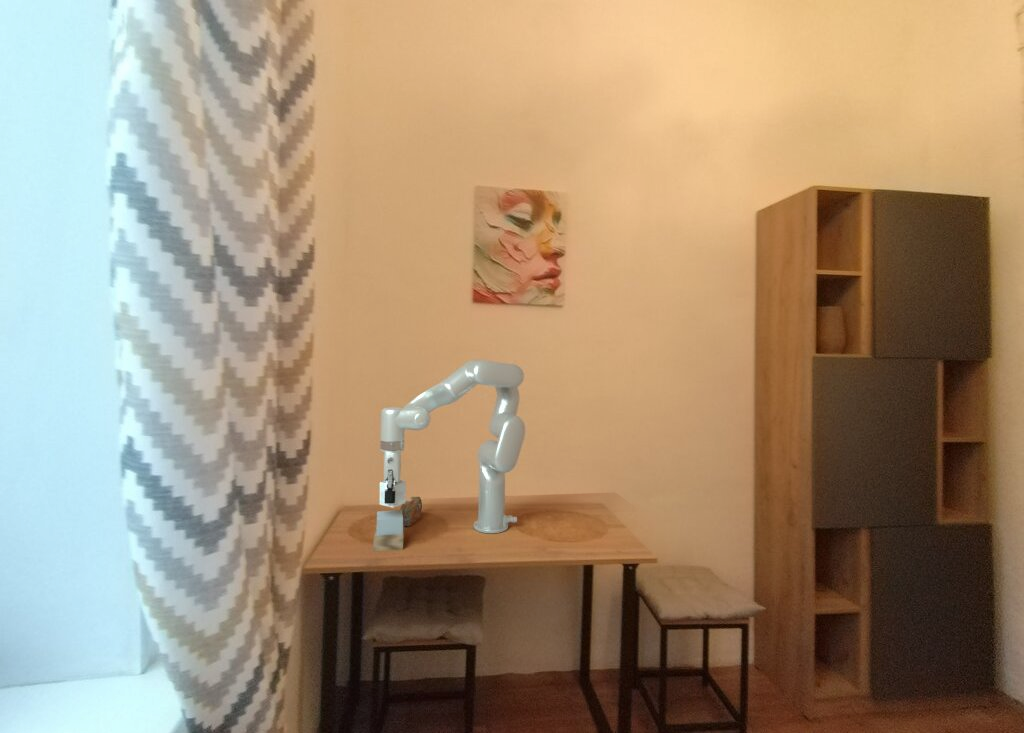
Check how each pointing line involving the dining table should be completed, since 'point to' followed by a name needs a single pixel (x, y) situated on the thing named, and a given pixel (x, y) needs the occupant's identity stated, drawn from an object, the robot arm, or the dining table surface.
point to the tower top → (389, 522)
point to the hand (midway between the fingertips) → (390, 498)
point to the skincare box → (399, 494)
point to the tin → (411, 510)
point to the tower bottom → (388, 541)
